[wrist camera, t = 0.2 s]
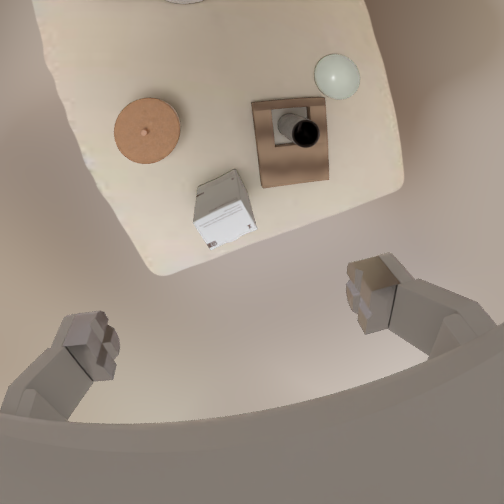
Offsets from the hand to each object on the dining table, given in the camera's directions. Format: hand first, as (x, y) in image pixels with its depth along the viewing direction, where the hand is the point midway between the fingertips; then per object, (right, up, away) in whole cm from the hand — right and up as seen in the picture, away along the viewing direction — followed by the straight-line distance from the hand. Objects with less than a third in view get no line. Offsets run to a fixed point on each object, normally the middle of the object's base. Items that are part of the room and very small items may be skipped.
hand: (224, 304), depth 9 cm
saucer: (+17, +34, +37) cm, 53 cm away
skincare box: (-5, +13, +47) cm, 49 cm away
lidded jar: (-16, +24, +39) cm, 49 cm away
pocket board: (+8, +22, +43) cm, 49 cm away
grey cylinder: (+8, +25, +42) cm, 49 cm away
